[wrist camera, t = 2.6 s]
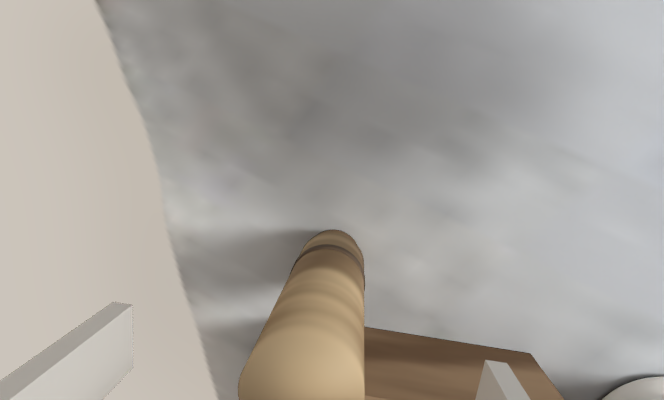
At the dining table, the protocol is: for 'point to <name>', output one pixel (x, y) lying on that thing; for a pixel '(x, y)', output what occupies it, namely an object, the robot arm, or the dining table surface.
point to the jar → (639, 390)
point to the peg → (313, 329)
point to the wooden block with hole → (440, 368)
